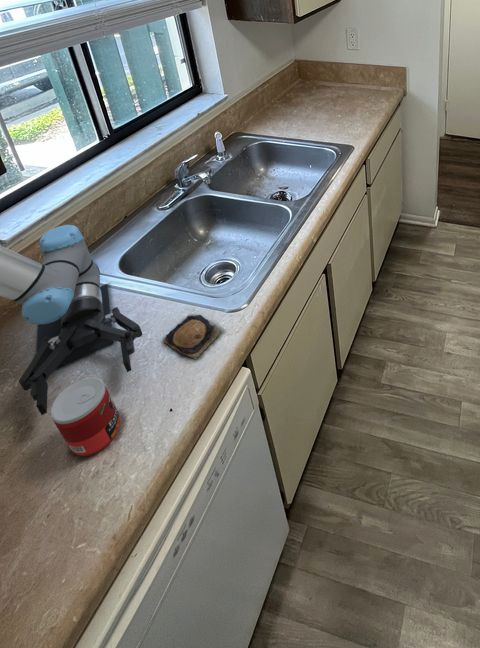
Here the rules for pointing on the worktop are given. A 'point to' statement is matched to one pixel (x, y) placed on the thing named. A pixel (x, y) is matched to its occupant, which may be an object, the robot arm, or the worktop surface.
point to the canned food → (86, 416)
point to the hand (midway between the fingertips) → (86, 387)
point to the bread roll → (192, 336)
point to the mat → (90, 347)
